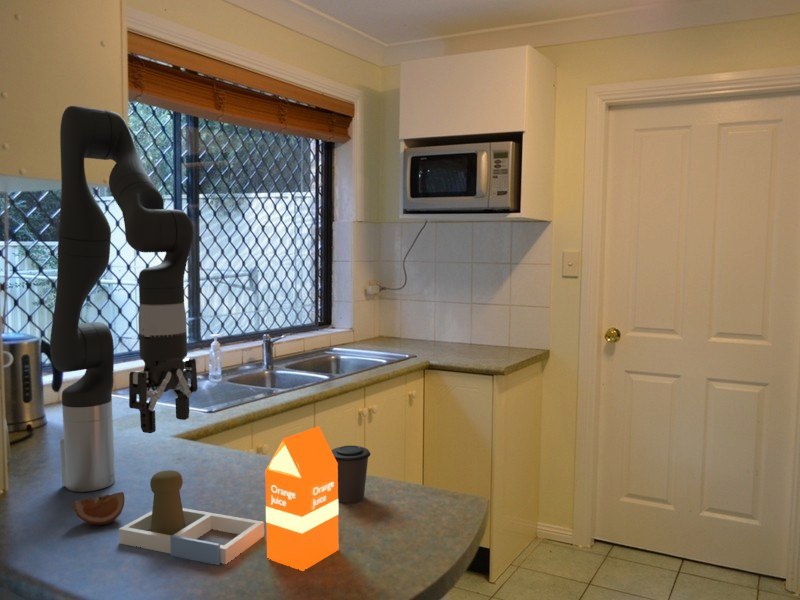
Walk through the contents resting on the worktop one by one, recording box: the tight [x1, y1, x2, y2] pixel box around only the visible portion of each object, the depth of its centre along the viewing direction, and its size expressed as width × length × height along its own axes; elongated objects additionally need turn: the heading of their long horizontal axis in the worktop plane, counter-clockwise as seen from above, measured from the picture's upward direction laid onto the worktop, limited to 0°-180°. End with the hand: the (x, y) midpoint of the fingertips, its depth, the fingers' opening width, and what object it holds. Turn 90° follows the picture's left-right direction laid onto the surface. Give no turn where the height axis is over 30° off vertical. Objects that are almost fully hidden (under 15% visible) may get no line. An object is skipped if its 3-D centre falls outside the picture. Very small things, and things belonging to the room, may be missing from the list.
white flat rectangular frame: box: [118, 507, 265, 566], centre depth 116 cm, size 21×12×3 cm, turn 69°
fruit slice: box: [72, 491, 125, 526], centre depth 124 cm, size 8×7×5 cm
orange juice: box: [264, 425, 340, 572], centre depth 110 cm, size 8×9×20 cm
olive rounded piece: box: [149, 469, 187, 536], centre depth 118 cm, size 6×6×11 cm
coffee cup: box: [331, 445, 371, 505], centre depth 134 cm, size 8×8×10 cm
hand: (166, 425), depth 117 cm, fingers open, 8 cm apart
